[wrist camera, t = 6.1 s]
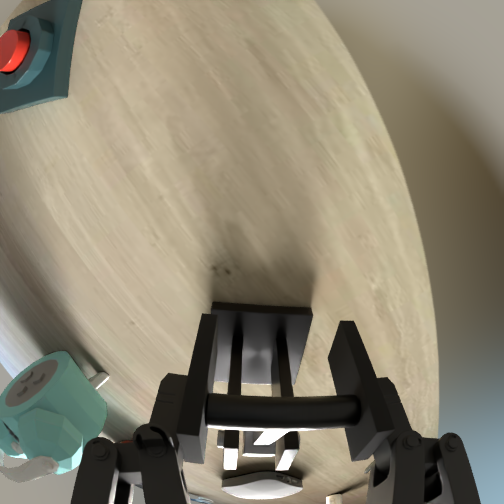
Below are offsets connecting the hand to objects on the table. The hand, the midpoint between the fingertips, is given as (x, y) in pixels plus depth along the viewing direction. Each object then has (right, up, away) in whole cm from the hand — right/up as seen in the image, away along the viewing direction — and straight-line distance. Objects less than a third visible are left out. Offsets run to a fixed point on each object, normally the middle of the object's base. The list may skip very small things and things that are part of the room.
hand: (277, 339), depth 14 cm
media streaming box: (+1, -45, +33) cm, 56 cm away
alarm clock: (-26, -11, +17) cm, 33 cm away
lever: (0, -5, +1) cm, 5 cm away
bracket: (-1, -5, +14) cm, 15 cm away
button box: (-20, +22, +1) cm, 30 cm away
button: (-20, +21, -2) cm, 29 cm away
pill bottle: (+22, -65, +42) cm, 80 cm away
